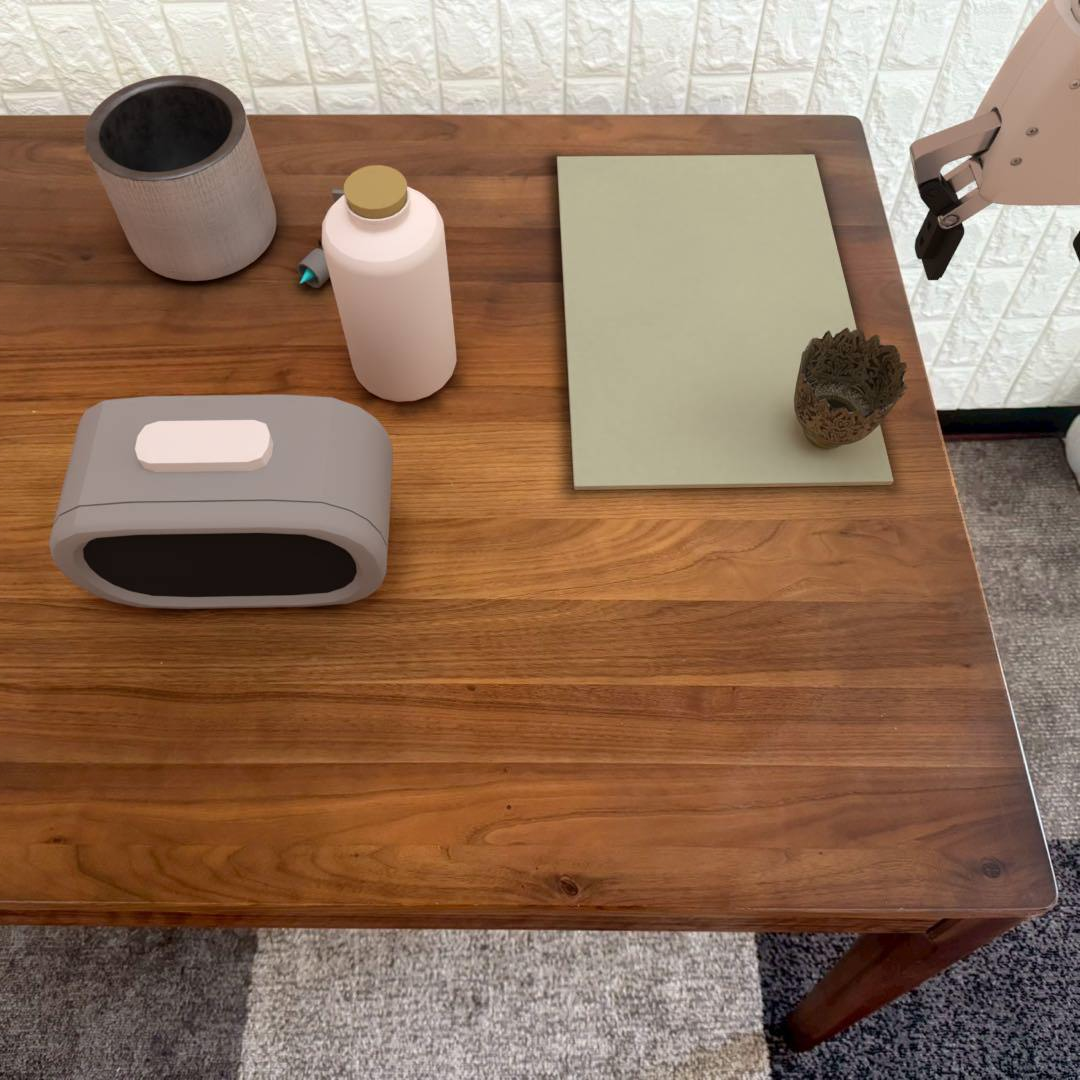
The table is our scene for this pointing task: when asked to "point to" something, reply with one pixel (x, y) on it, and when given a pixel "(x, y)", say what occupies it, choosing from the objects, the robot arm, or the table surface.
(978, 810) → the table surface
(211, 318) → the table surface
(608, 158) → the mat
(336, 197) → the toy gun
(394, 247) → the potion bottle
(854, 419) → the brown jagged-rimmed vessel
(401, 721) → the table surface
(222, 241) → the planter
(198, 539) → the alarm clock
